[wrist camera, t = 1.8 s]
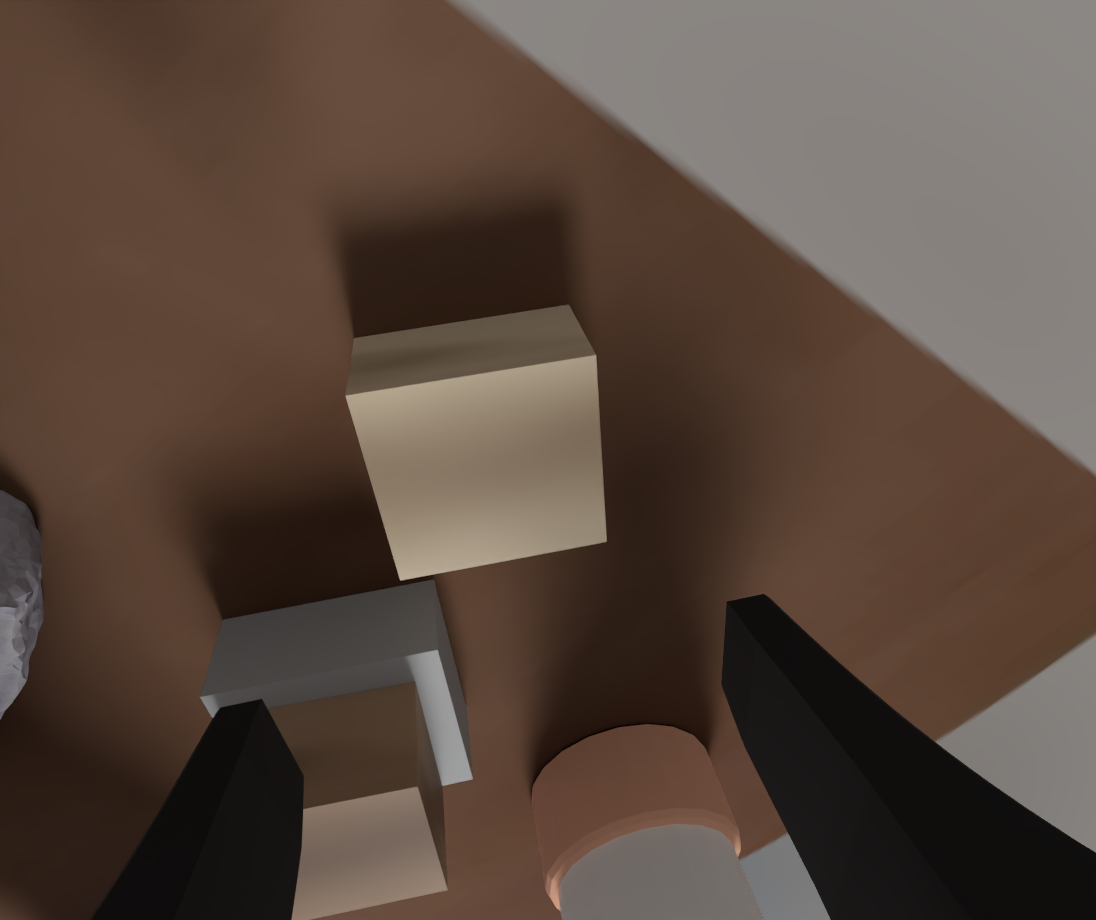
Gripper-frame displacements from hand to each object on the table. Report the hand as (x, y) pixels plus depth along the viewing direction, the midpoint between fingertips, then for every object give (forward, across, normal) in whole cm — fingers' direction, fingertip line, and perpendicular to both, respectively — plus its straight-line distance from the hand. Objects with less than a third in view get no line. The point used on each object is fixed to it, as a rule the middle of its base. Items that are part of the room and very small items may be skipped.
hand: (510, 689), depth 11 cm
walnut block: (+6, +5, +8) cm, 11 cm away
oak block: (+8, 0, 0) cm, 8 cm away
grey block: (+8, +5, +8) cm, 13 cm away
